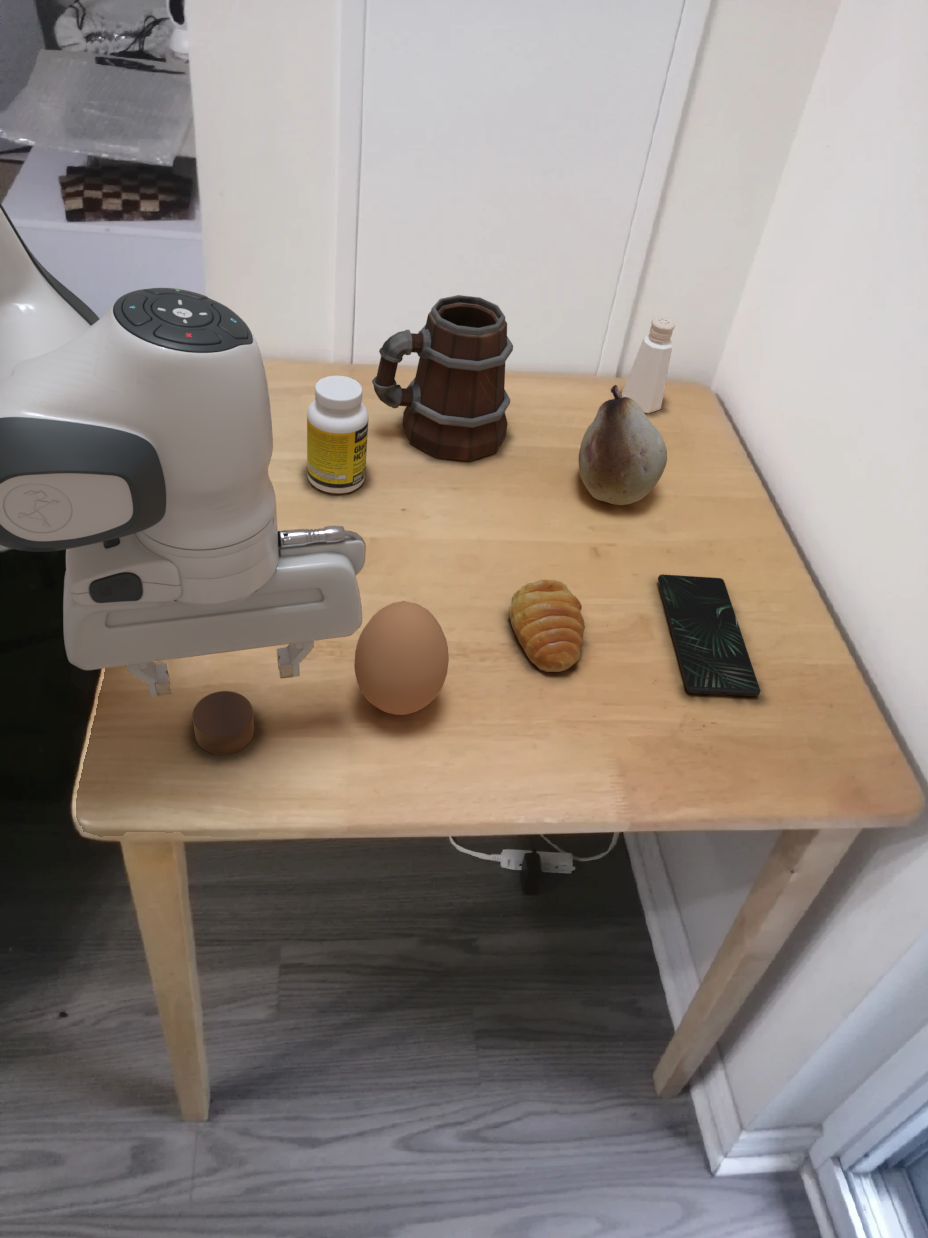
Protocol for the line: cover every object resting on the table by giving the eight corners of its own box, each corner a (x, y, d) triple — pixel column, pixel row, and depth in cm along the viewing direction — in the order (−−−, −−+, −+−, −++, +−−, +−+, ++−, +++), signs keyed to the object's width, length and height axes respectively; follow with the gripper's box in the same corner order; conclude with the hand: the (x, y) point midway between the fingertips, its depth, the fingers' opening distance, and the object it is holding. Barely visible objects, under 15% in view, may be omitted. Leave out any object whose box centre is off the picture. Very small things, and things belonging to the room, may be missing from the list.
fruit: (580, 455, 109) (602, 362, 100) (659, 475, 108) (689, 383, 99) (563, 505, 102) (586, 410, 93) (648, 528, 100) (679, 433, 92)
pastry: (593, 676, 84) (602, 647, 81) (519, 678, 83) (526, 649, 80) (571, 603, 91) (579, 574, 88) (503, 604, 90) (509, 574, 87)
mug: (484, 401, 115) (502, 283, 104) (516, 458, 107) (539, 338, 96) (359, 408, 110) (364, 287, 100) (382, 469, 102) (390, 344, 92)
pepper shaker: (613, 391, 120) (634, 310, 112) (652, 389, 121) (675, 310, 114) (628, 414, 116) (651, 333, 109) (668, 413, 118) (693, 332, 110)
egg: (342, 726, 77) (345, 634, 69) (364, 660, 82) (370, 568, 75) (432, 745, 77) (446, 655, 69) (449, 678, 82) (463, 587, 74)
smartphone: (688, 688, 83) (658, 572, 94) (685, 696, 84) (655, 580, 94) (762, 692, 84) (724, 577, 94) (758, 699, 85) (721, 584, 95)
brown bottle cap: (197, 759, 73) (194, 740, 71) (192, 714, 76) (190, 694, 74) (257, 750, 74) (256, 731, 73) (250, 706, 77) (249, 686, 76)
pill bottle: (362, 498, 98) (367, 407, 91) (303, 492, 98) (303, 400, 90) (367, 464, 103) (372, 374, 95) (311, 458, 102) (311, 367, 95)
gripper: (357, 495, 66) (353, 632, 75) (44, 524, 60) (83, 667, 70) (376, 554, 62) (369, 691, 71) (41, 590, 56) (83, 733, 66)
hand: (225, 680), depth 71 cm, fingers open, 8 cm apart
